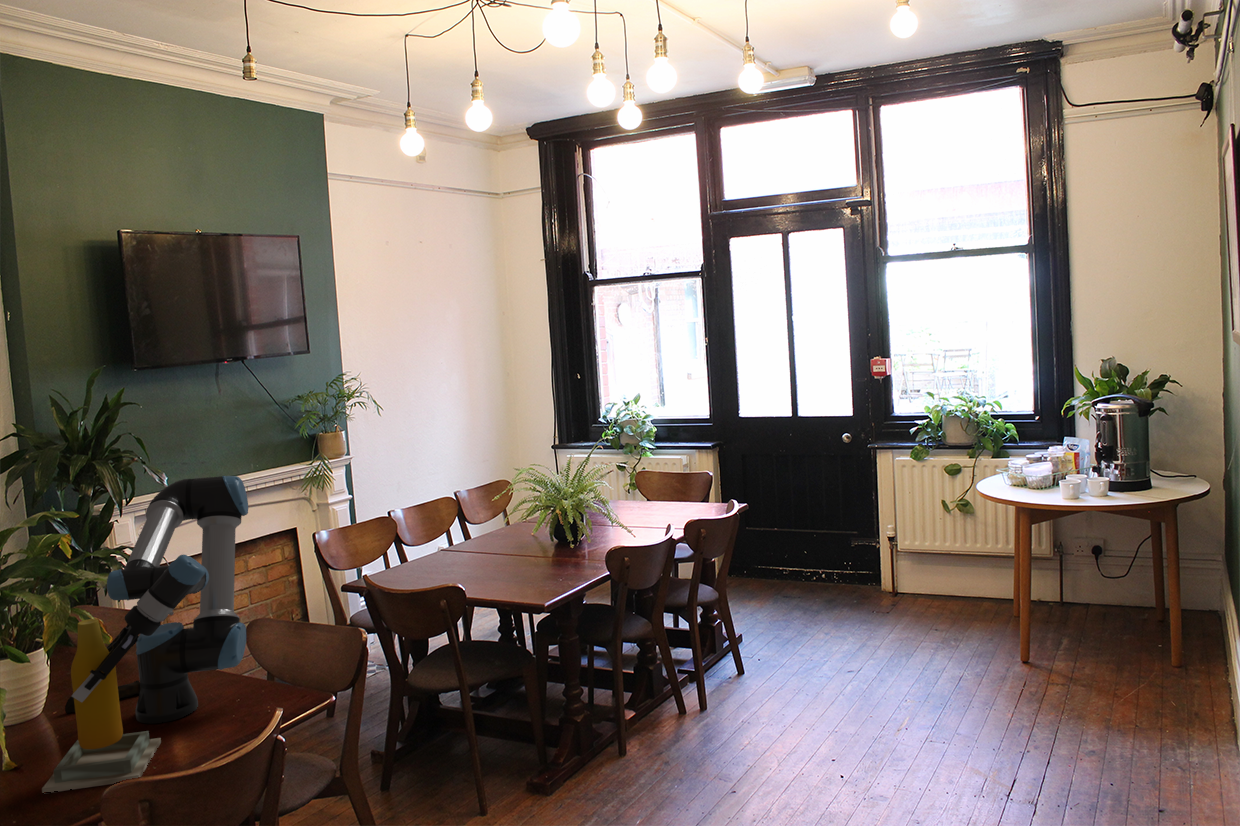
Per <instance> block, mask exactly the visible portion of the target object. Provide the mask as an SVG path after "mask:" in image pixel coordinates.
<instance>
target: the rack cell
mask: <svg viewBox="0 0 1240 826" xmlns="http://www.w3.org/2000/svg"><path fill="white" fill-rule="evenodd" d="M149 732H150V731H149V730H146V731H138V732H137V731H136V732H130V733H129V732H128V733H123V735H122V738H121V739H120V740H119V741H118V742H116V743H114V744H112V745H110V746H107V747H103V748H99V749H83V748H81V746H80V745H79V741H78V739H77V740H76V741H75V742H74V744H73V745H72V746H71V747H70V749H69V750H68V751H67V752H66V754H65V755H64V756H63V758H62V759H61V760H60V761H59V763H58V764H57V766H55V768H54V769H53V773H52V775H51V776H50V778H48V780H47V782H46V783H45V784H44V785H43V786H42V787H41V793H44V792H51V793H55V792H54V791H58V792H64V791H70V789H72V790H79V789H85V788H93V787H99V786H107V785H113V784H114V783H115V784H117V783H116V782H119V781H122V780H126V779H132V778H138V777H141V778H142V776H143V774H144V773H143V772H145V771H146V769H147V768H148V766H149V764H150V762H151V761H150V760H152V759H153V757H154V756H155V754H156V752H157V750H158V749H157V748H159V747H160V745H161V743H162V740H161V739H162V738H161V737H157V738H150V733H149ZM154 753H155V754H154ZM151 758H152V759H151ZM148 763H149V764H148ZM147 765H148V766H147ZM44 794H45V793H44Z"/></svg>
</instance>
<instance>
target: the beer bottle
mask: <svg viewBox="0 0 1240 826" xmlns="http://www.w3.org/2000/svg"><path fill="white" fill-rule="evenodd" d="M103 639H104V637H103V635H102V631H101V625H100V623H99V619H98V618H89V619H84V620H81V621H79V622H77V642H76V643H77V645H76V646H77V648H76V652H75V655H74V657H73V660H72V663H71V666H70V668H71V669H70V677H71V686H72V694H73V693H74V692H75V691H76V690H77V689H78V688H79V687H80V686H81V684H82V683H83V682H84V681H85V680H86V679H87V678H88V676H89V675H90V674H91V673H90V671H91V670H94V671H95V670H96V669H97V668H98V666H99V665H100V664H101V663H102V661H103V660H104V659H105V658H106V656H107V655H108V654H109V653H110V652H109V650H108V649H107V646H106V644H105V642H104V640H103ZM116 667H117V665H116V666H115V667H114V668H113V669H112V670H111V672H110V673H109V674H108V675H107V676H106V678H105V679H104V680H102V681H101V682H100V683H99V684H98V685H97V686H96V687H95V688H94V690H93V691H92V692H91V693H90V694H89V695H88V696H87V698H86V699H85V700H84V701H83V702H80V701H78V700H77V699H75V698H74V704H75V712H74V713H75V719H76V728H77V740H78V741H79V745H80V746H81V748H83V749H99V748H103V747H107V746H110V745H112V744H114V743H116V742H118V741H119V740H120V739H121V738H122V735H123V734H124V728H123V720H122V713H121V703H120V699H119V694H118V686H119V685H118V677H117V668H116ZM101 672H102V671H101ZM102 673H103V672H102Z"/></svg>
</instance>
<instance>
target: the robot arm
mask: <svg viewBox="0 0 1240 826" xmlns="http://www.w3.org/2000/svg"><path fill="white" fill-rule="evenodd" d="M248 514H249V501H248V495H247V491H246V486H245V484H244V482H243V480H242V479H241V478H240V476H237V475H222V476H209V477H198V478H197V477H195V478H184V479H181V480H177V481H175V482H172V483H171V484H169V485H168V486H166V487H164V488H163V489H162V490H160V491H159V492H158V493H157V494H156V495H155V496H154V497H153V498H152V500H150V502H149V505H148V506H147V508H146V511H145V518H146V520H145V522H144V525H143V527H142V529H141V531H140V533H139V536H138V538H137V540H136V543H135V545H134V546H133V549H132V551H131V553H130V555H129V557H128V559H127V562H126V563H125V565H124V567H123V569H121V568H119V569H116V570H112V571H110V572H109V574H108V575H107V578H106V579H107V580H106V589H107V594H108V596H109V599H111V600H112V601H131V600H132V601H133V600H137V602H136V605H134V606H132V607H131V608H130V609H129V611H128V612H126V614H125V616H124V621H125V623H126V626H125V627H123V628H122V629H121V631H120V632H119V633H118V634H117V635H116V636H115V638H114V639H112V641H111V642H110V643H109V644H108V646H106V648H107V649H108V650H109V652H110V653H109V654H108V655H107V656H106V658H105V659H104V660H103V661H102V663H101V664H100V665H99V666H98V668H97V669H96V670H95V671H94V670H91V671H90V673H91V674H90V675H89V676H88V678H87V679H86V680H85V681H84V682H83V683H82V684H81V686H80V687H79V688H78V689H77V690H76V691H75V692H74V693H73V692H72V695H71V696H72V697H73V698H75V699H77V700H78V701H80V702H83V701H84V700H85V699H86V698H87V696H88V695H89V694H90V693H91V692H92V691H93V690H94V688H95V687H96V686H97V685H98V684H99V683H100V682H101V681H102V680H104V679H105V678H106V676H107V675H108V674H109V673H110V672H111V670H112V669H113V668H114V667H115V666H116V667H117V664H118V663H119V662H120V661H121V660H122V659H123V657H124V656H125V655H126V654H127V653H128V652H129V650H131V648H133V647H134V645H136V651H135V654H136V658H137V659H136V660H137V669H138V678H139V679H138V680H139V682H140V688H141V689H140V694H138V697H137V702H136V706H135V718H136V721H137V722H139V723H142V724H150V725H151V724H153V725H154V724H162V722H163V723H169V722H172V721H175V720H176V721H177V720H179V719H182V718H184V716H185V717H186V715H187V716H189V715H190V713H191V714H192V713H194V712H195V711H196V710H197V709H198V708H199V701H198V700H199V699H198V696H197V694H196V691H195V689H194V688H193V686H192V684H191V682H190V679H189V673H196V672H197V673H198V672H207V671H216V670H219V671H221V670H222V671H223V670H226V669H231V668H235V667H237V666H238V665H240V663H241V662H242V660H243V658H244V655H245V650H246V646H247V645H246V644H247V627H246V625H245V623H244V622H241V621H240V620H241V617H240V616H239V615H238V614H237V613H236V612H235V570H236V569H235V567H236V529H237V527H239V526H240V525H241V524H242V517H245V516H247V515H248ZM187 520H188V521H189V520H196V524H197V525H198V526H199V527H200V528H201V530H202V533H201V534H202V538H201V539H202V540H201V541H202V542H201V563H200V562H199V561H197V560H196V559H194V558H193V557H191V556H189V555H187V554H180V555H179V556H178V557H176V558H175V559H174V561H172V562H171V563H170V564H169V565H161V563H162V561H163V558H164V556H165V553H166V551H167V548H168V547H169V544H170V541H171V539H172V537H173V535H174V532H175V529H176V528H178V527H179V526H181V525H182V523H183V521H187ZM198 593H200V598H199V599H200V601H199V602H200V603H199V614H198V615H197V616H196V617H194V619H193V622H192V623H193V625H192V627H190V628H189V627H187V628H185V625H184V624H183V623H182V622H177V621H174V622H168V623H163V624H162V623H161V622H164V621H165V620H167V618H168V616H173V615H174V610H175V609H176V607H177V606H178V605H179V604H180V603H181V602H182V601H183V600H184V599H185V598H186V597H187V596H188V595H191V594H193V595H196V594H198ZM101 671H102V672H103V673H102V672H101ZM197 707H198V708H197ZM193 711H194V712H193ZM188 714H189V715H188Z"/></svg>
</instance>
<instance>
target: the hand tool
mask: <svg viewBox="0 0 1240 826" xmlns="http://www.w3.org/2000/svg"><path fill="white" fill-rule="evenodd" d="M140 689H141V688H140V679H137V680H135V681H133V682H130V683H127V684H122V685H118V694H119V700H120V699H123V698H128V697H132V696H134V695H135V696H136V695H139V694H140ZM64 711H65V714H72V713H71V712H74V713H75V704H74V698H73V697H72V695H71V696H70V697H68V698H67V701H66V703H65V706H64Z"/></svg>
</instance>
